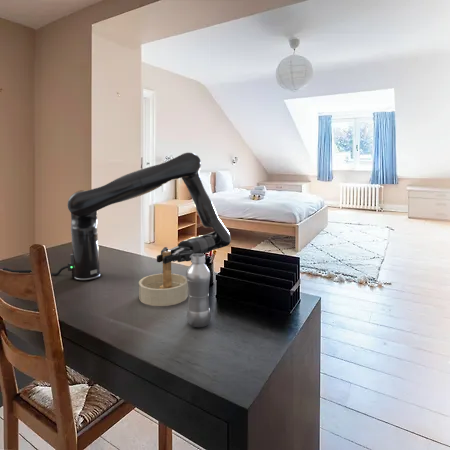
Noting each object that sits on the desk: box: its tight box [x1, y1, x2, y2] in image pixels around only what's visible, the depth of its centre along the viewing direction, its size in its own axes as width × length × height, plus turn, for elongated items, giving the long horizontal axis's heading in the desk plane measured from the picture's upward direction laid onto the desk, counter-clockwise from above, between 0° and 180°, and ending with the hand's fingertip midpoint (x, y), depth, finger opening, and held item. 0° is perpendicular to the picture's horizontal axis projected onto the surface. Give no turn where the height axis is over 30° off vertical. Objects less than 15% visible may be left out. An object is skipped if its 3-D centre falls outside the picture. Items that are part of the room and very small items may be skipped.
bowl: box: [138, 272, 189, 307], centre depth 116 cm, size 16×16×6 cm
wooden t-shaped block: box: [159, 251, 173, 289], centre depth 116 cm, size 5×2×14 cm, turn 59°
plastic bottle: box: [185, 254, 212, 328], centre depth 96 cm, size 6×7×20 cm
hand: (160, 259), depth 112 cm, fingers closed on wooden t-shaped block, 2 cm apart
